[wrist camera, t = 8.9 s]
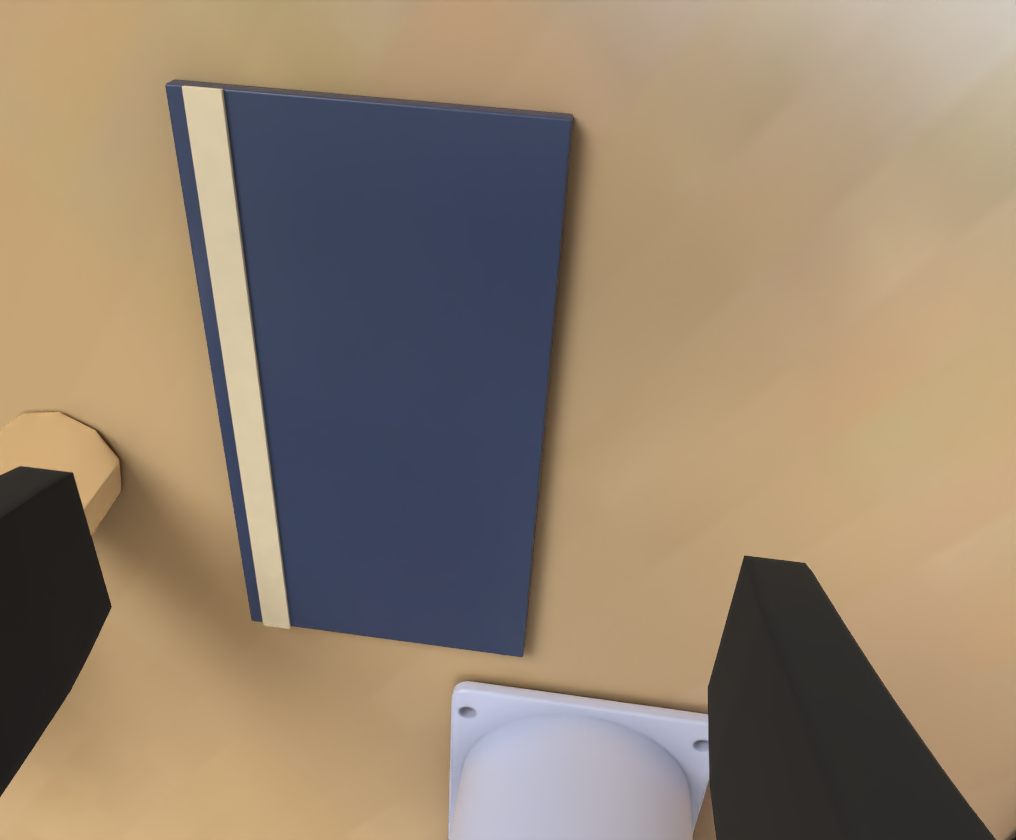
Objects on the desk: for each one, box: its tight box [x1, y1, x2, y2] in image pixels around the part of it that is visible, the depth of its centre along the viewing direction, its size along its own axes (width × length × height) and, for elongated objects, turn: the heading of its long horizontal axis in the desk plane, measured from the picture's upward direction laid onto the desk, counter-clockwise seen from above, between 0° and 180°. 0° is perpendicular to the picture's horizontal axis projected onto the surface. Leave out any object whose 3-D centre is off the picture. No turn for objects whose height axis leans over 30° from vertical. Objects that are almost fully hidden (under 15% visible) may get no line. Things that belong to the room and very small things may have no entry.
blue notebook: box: [166, 80, 573, 657], centre depth 21 cm, size 15×8×1 cm, turn 177°
